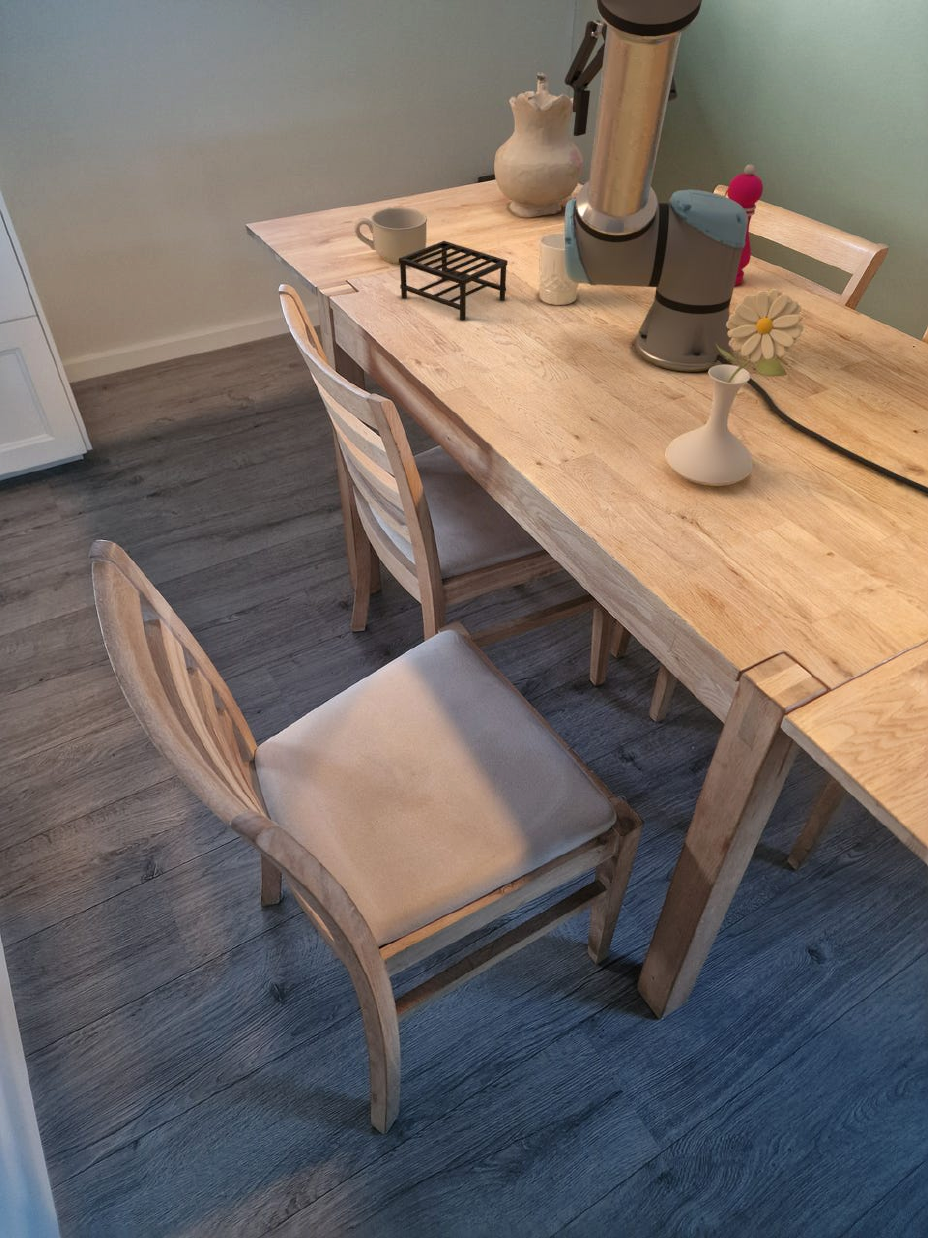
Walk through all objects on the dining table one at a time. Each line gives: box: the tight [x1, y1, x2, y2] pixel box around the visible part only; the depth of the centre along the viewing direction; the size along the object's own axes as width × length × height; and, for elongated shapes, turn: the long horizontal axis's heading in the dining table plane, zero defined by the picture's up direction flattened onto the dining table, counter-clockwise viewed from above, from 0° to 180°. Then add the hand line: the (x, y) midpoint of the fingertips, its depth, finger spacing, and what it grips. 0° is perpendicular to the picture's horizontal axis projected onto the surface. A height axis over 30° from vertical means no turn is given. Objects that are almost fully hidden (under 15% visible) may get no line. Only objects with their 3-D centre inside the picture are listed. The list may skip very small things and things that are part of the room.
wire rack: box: [399, 240, 508, 321], centre depth 149 cm, size 15×12×7 cm
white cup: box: [538, 232, 580, 306], centre depth 149 cm, size 8×8×10 cm
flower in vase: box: [664, 288, 805, 487], centre depth 102 cm, size 13×11×25 cm
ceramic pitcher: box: [493, 71, 584, 218], centre depth 181 cm, size 22×20×25 cm
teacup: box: [354, 206, 428, 265], centre depth 163 cm, size 14×11×8 cm
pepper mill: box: [726, 164, 764, 287], centre depth 152 cm, size 7×7×20 cm
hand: (612, 141), depth 143 cm, fingers open, 13 cm apart
